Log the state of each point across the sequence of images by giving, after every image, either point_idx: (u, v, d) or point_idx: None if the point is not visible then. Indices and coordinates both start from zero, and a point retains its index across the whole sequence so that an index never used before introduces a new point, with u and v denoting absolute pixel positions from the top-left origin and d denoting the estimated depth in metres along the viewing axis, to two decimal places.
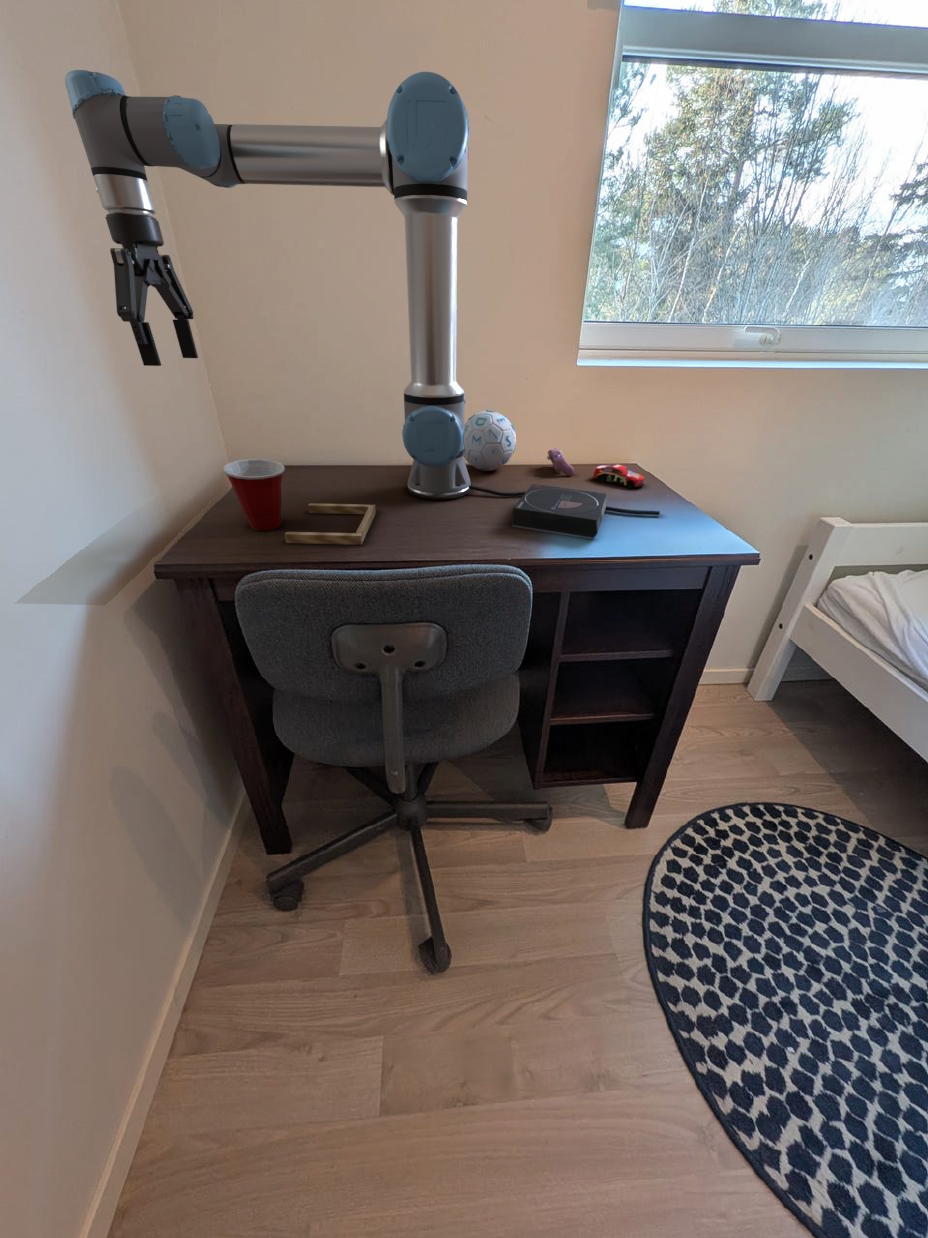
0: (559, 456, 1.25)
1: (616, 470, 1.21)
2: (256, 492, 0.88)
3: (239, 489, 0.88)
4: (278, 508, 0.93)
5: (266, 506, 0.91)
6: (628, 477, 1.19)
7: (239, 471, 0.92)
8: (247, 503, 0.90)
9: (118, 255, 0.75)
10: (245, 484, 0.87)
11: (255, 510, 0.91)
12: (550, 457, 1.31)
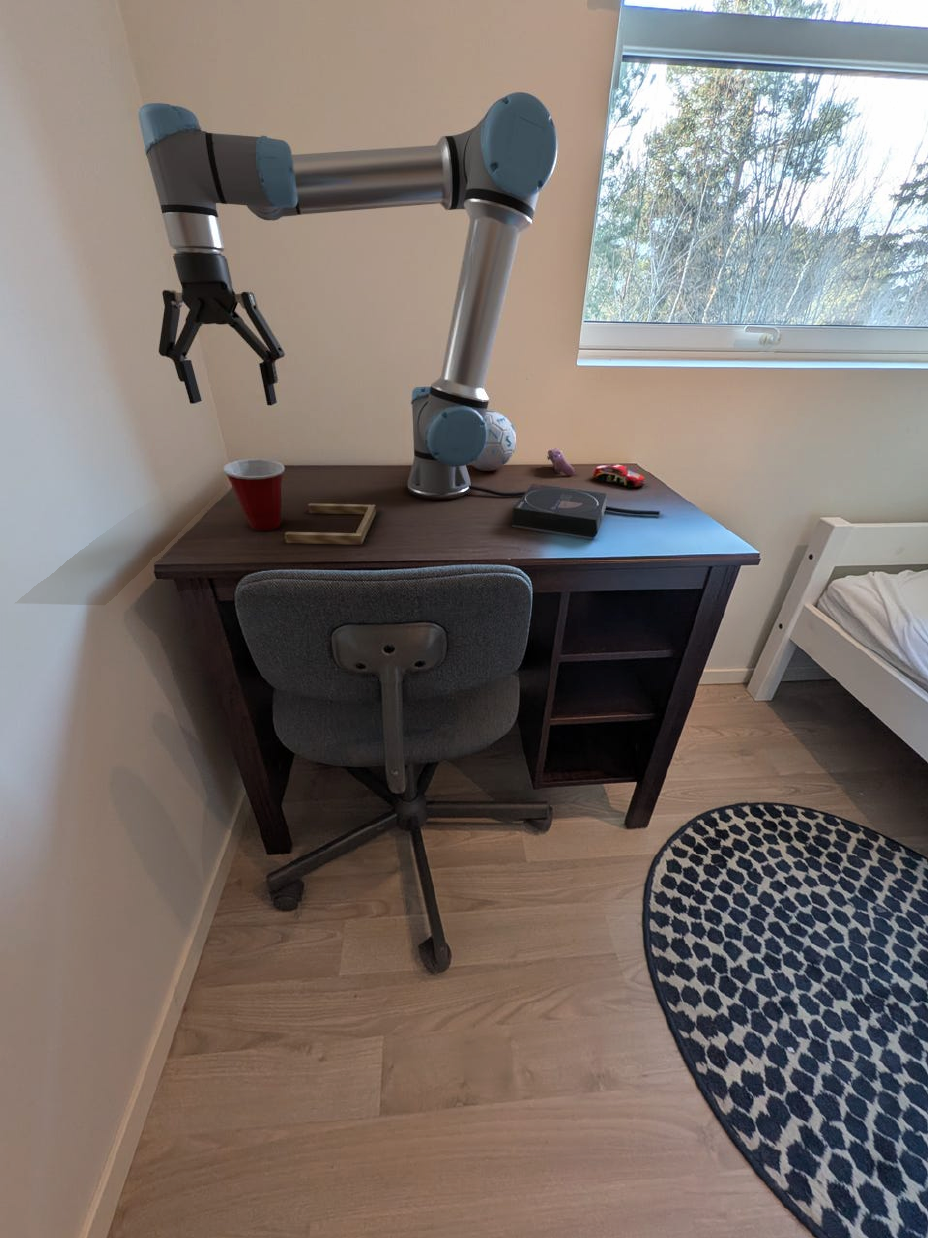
0: (559, 456, 1.25)
1: (616, 470, 1.21)
2: (256, 492, 0.88)
3: (239, 489, 0.88)
4: (278, 508, 0.93)
5: (266, 506, 0.91)
6: (628, 477, 1.19)
7: (239, 471, 0.92)
8: (247, 503, 0.90)
9: None
10: (245, 484, 0.87)
11: (255, 510, 0.91)
12: (550, 457, 1.31)
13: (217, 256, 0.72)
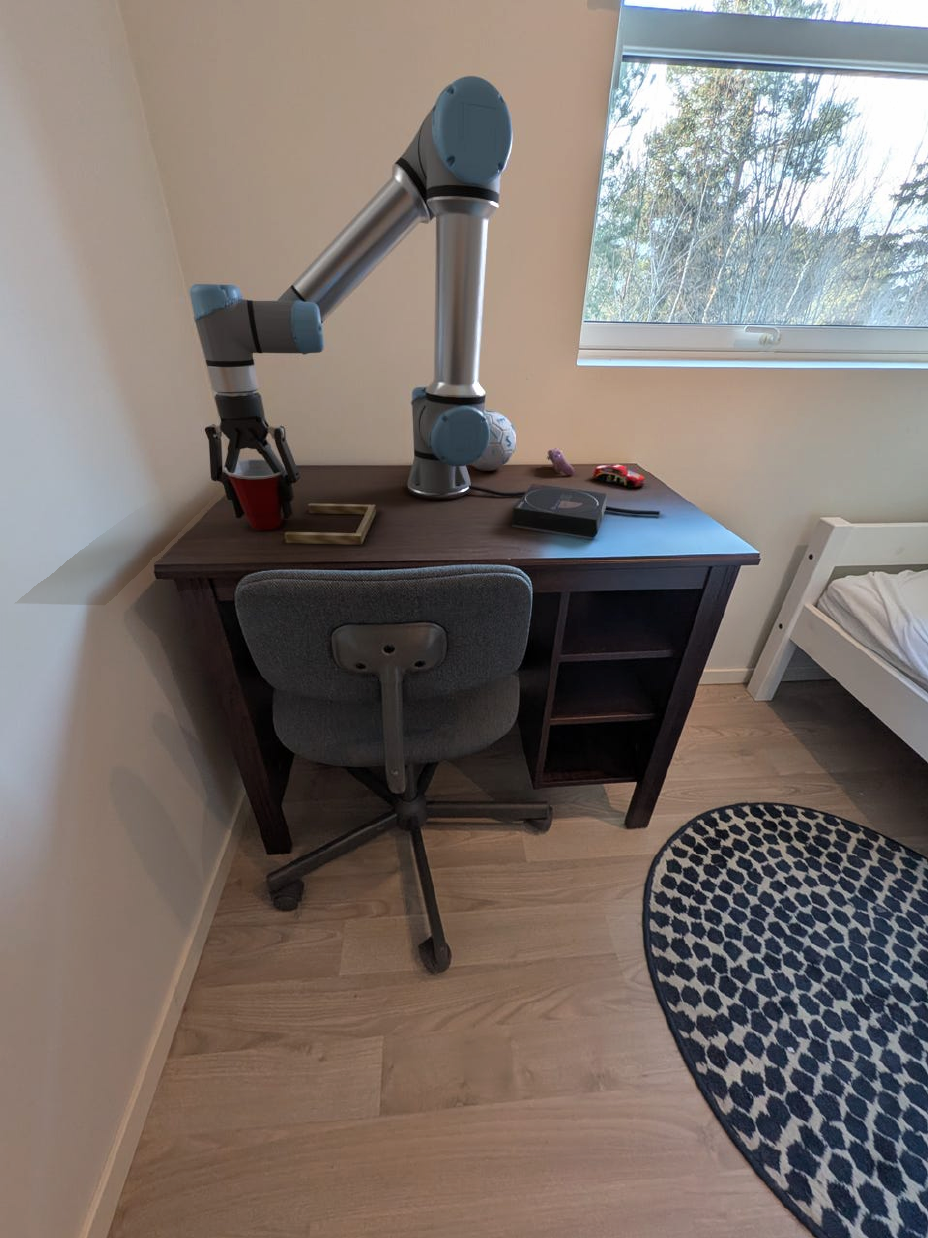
0: (559, 456, 1.25)
1: (616, 470, 1.21)
2: (257, 492, 0.88)
3: (239, 489, 0.88)
4: (278, 508, 0.93)
5: (267, 506, 0.91)
6: (628, 477, 1.19)
7: (239, 470, 0.92)
8: (247, 503, 0.90)
9: None
10: (245, 484, 0.87)
11: (255, 509, 0.91)
12: (550, 457, 1.31)
13: (253, 397, 0.82)
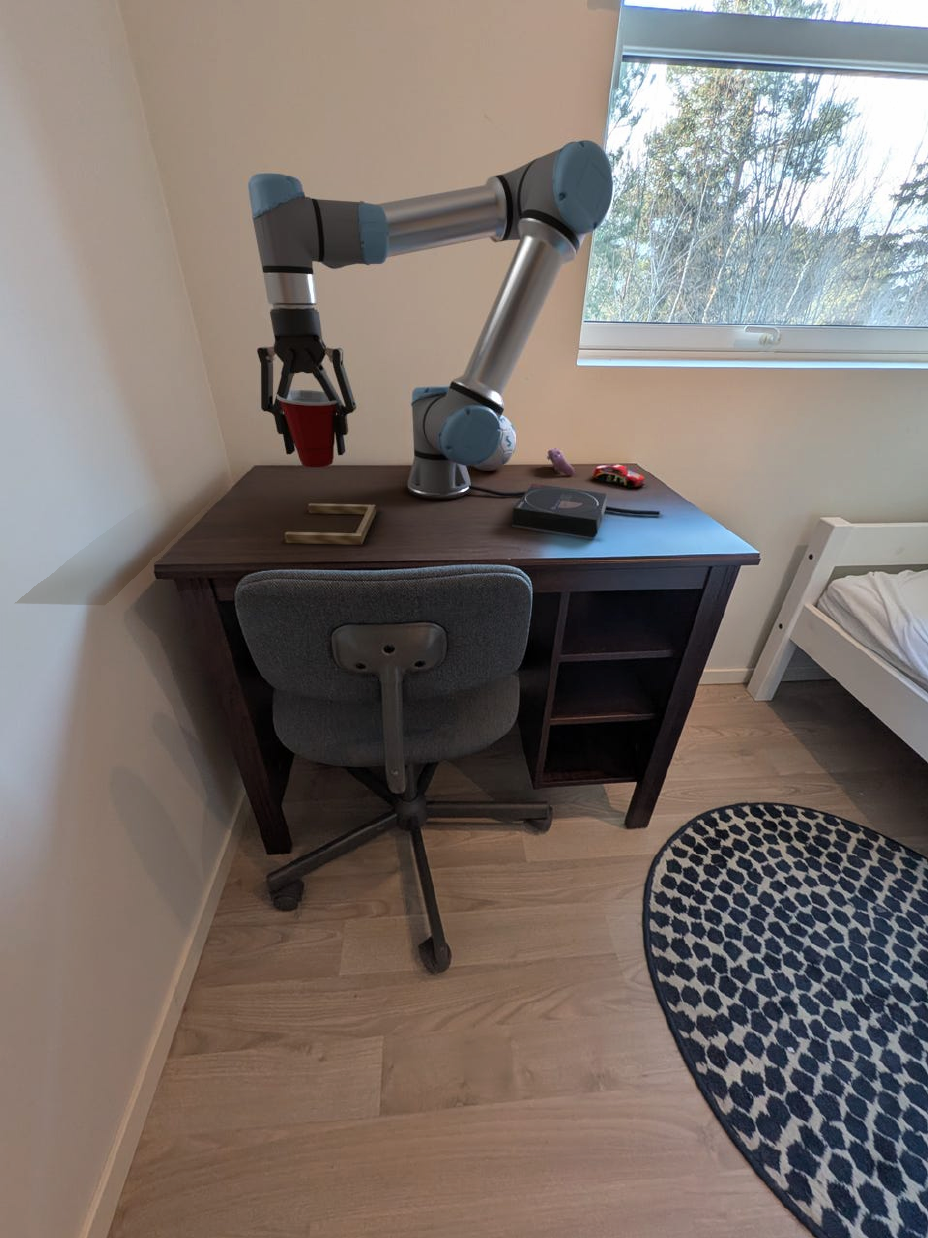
0: (559, 456, 1.25)
1: (616, 470, 1.21)
2: (312, 421, 0.81)
3: (293, 418, 0.81)
4: (332, 443, 0.86)
5: (321, 439, 0.84)
6: (628, 477, 1.19)
7: None
8: (300, 435, 0.83)
9: None
10: (300, 411, 0.80)
11: (309, 442, 0.84)
12: (550, 457, 1.31)
13: (312, 311, 0.75)
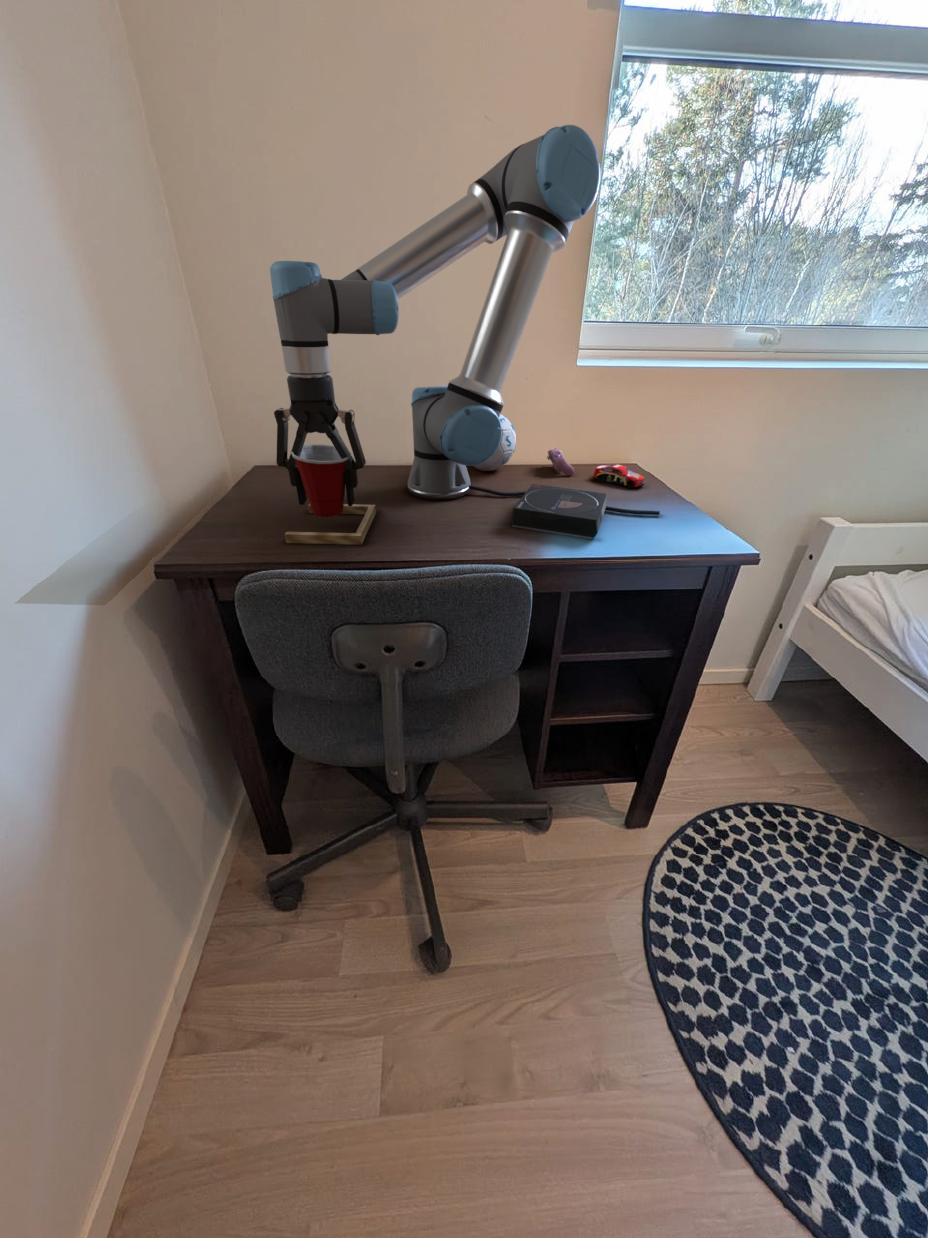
0: (559, 456, 1.25)
1: (616, 470, 1.21)
2: (324, 477, 0.87)
3: (307, 474, 0.86)
4: (342, 495, 0.92)
5: (332, 492, 0.89)
6: (628, 477, 1.19)
7: (303, 456, 0.91)
8: (313, 489, 0.88)
9: None
10: (314, 469, 0.85)
11: (321, 495, 0.89)
12: (550, 457, 1.31)
13: (327, 379, 0.80)
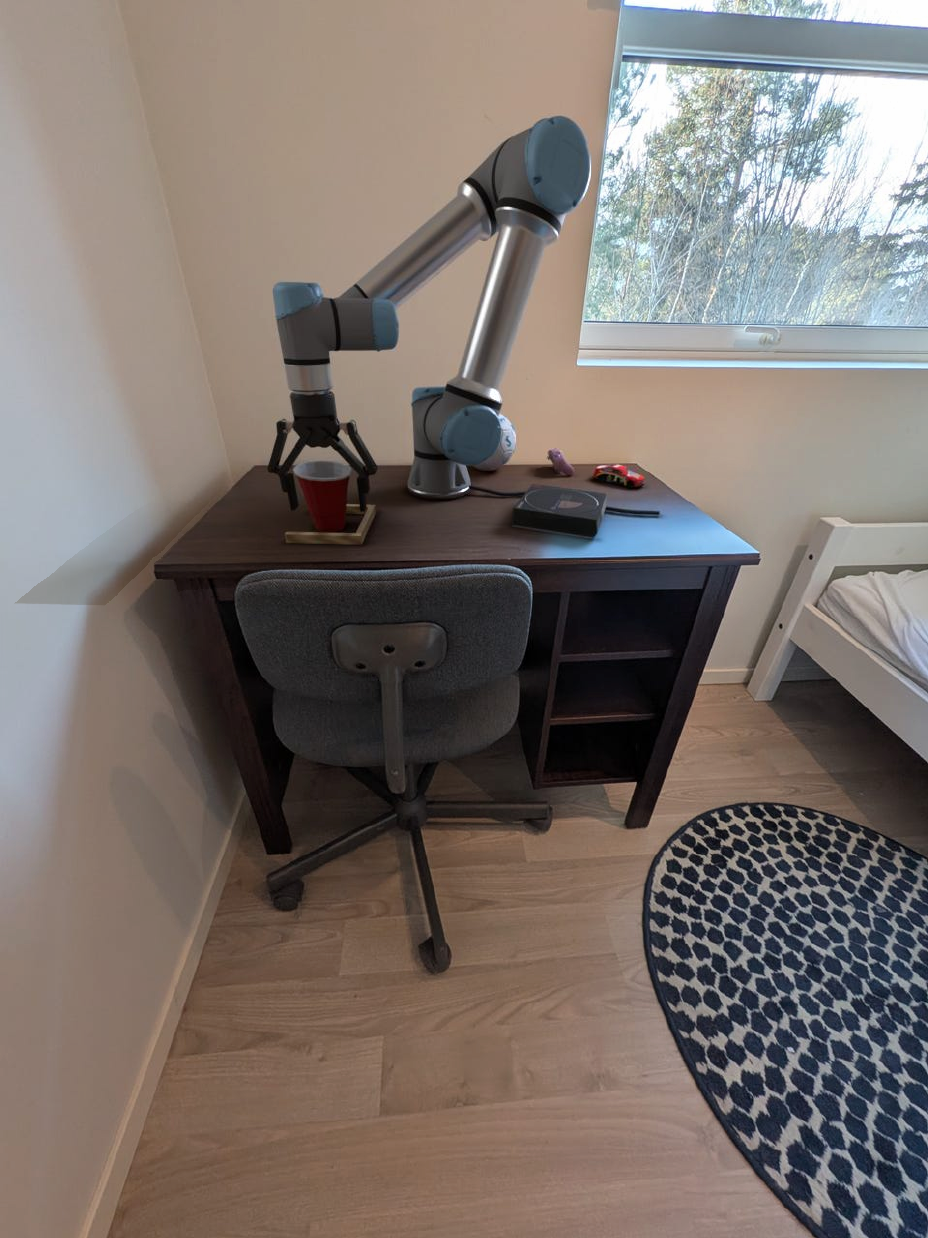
0: (559, 456, 1.25)
1: (616, 470, 1.21)
2: (326, 493, 0.88)
3: (309, 491, 0.88)
4: (344, 510, 0.93)
5: (334, 508, 0.91)
6: (628, 477, 1.19)
7: (305, 472, 0.92)
8: (316, 505, 0.90)
9: None
10: (316, 486, 0.87)
11: (323, 511, 0.91)
12: (550, 457, 1.31)
13: (329, 395, 0.81)
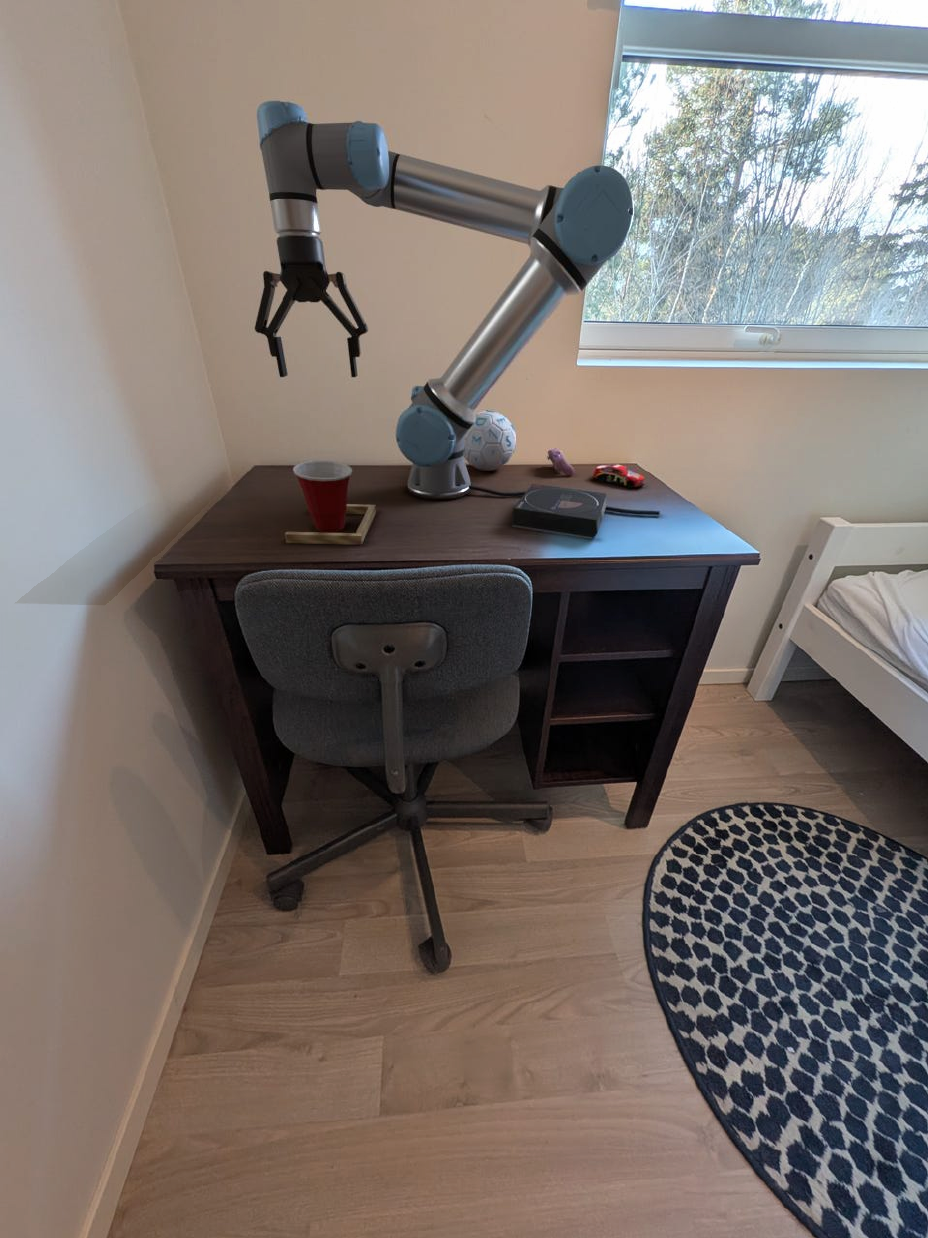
0: (559, 456, 1.25)
1: (616, 470, 1.21)
2: (326, 493, 0.88)
3: (309, 491, 0.88)
4: (344, 510, 0.93)
5: (334, 508, 0.91)
6: (628, 477, 1.19)
7: (305, 472, 0.92)
8: (316, 505, 0.90)
9: None
10: (316, 486, 0.87)
11: (323, 511, 0.91)
12: (550, 457, 1.31)
13: (317, 239, 0.80)
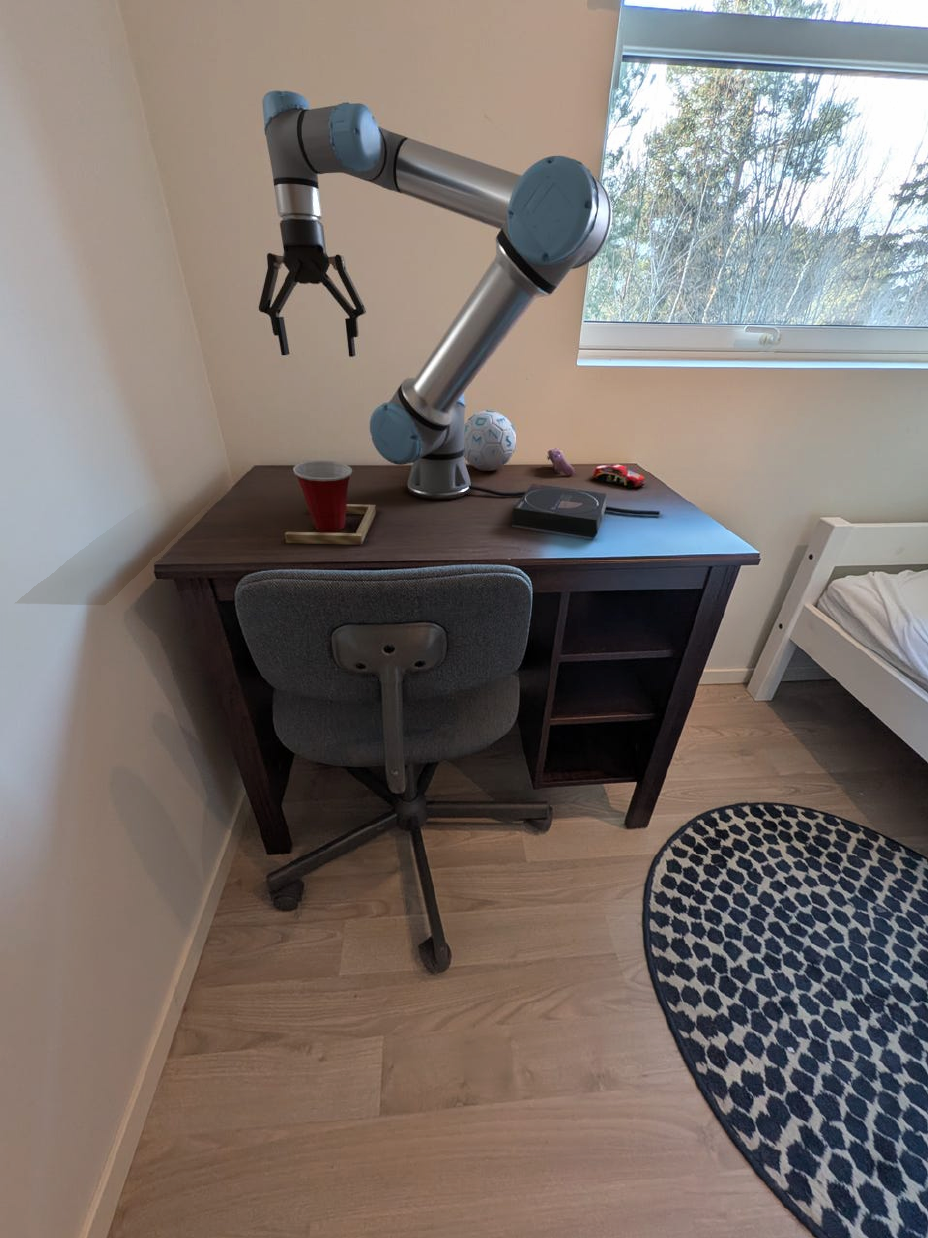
0: (559, 456, 1.25)
1: (616, 470, 1.21)
2: (326, 493, 0.88)
3: (309, 491, 0.88)
4: (344, 510, 0.93)
5: (334, 508, 0.91)
6: (628, 477, 1.19)
7: (305, 472, 0.92)
8: (316, 505, 0.90)
9: None
10: (316, 486, 0.87)
11: (323, 511, 0.91)
12: (550, 457, 1.31)
13: (317, 223, 0.84)
